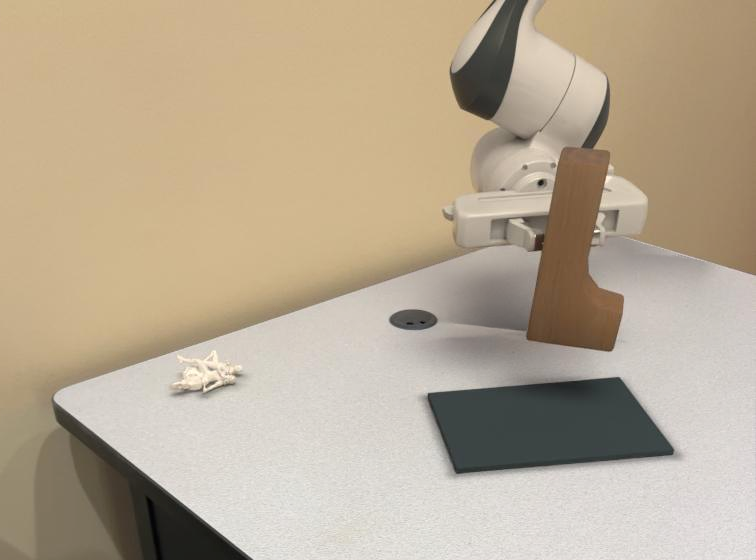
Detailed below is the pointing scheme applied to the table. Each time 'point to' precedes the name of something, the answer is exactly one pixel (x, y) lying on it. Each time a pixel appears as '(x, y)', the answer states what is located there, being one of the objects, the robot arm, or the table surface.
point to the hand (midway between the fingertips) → (567, 241)
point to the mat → (545, 425)
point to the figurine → (206, 373)
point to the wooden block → (574, 261)
